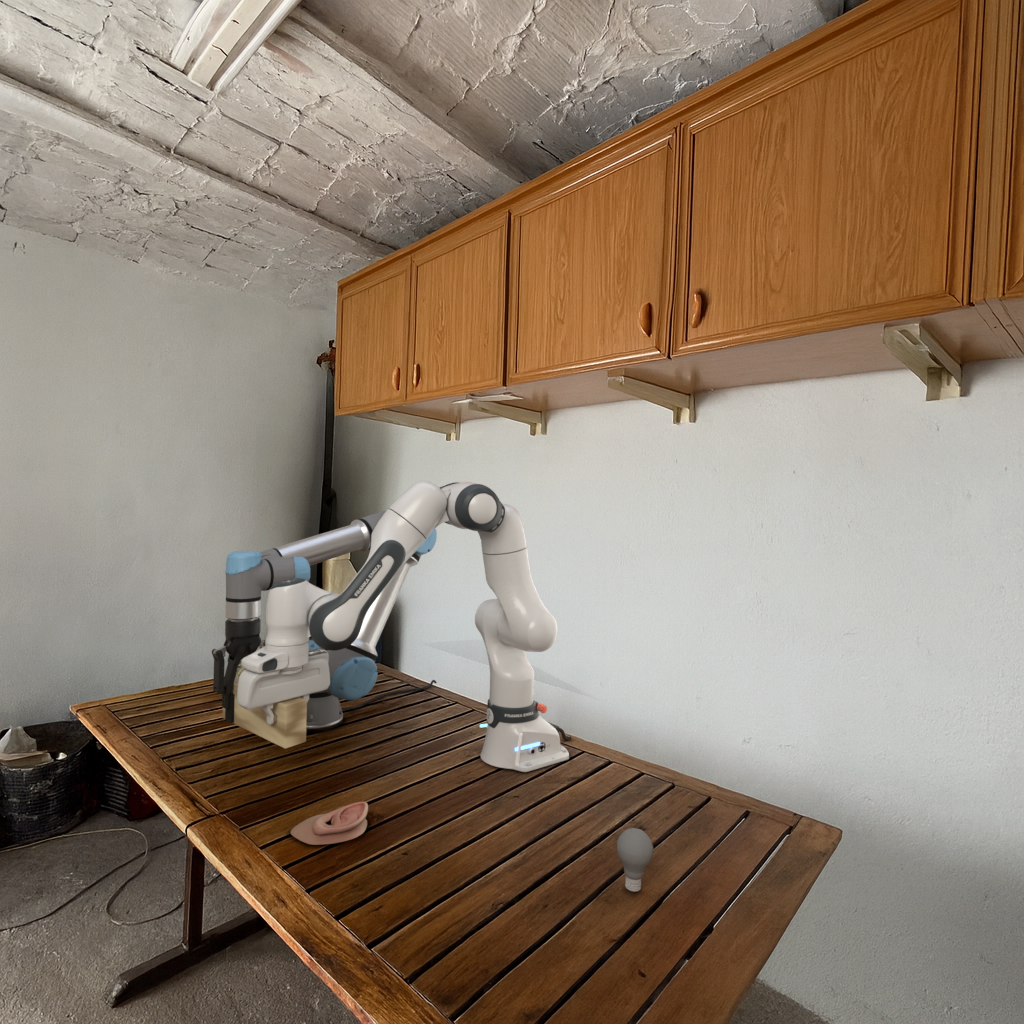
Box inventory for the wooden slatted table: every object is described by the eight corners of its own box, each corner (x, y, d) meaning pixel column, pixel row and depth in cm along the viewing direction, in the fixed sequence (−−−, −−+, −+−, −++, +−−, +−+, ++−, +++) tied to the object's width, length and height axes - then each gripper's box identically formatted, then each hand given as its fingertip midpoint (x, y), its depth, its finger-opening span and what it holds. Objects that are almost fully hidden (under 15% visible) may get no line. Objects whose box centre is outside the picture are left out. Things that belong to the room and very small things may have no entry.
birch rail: (242, 712, 151) (243, 675, 151) (306, 741, 135) (307, 700, 135) (222, 718, 147) (222, 679, 147) (285, 748, 131) (285, 705, 131)
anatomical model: (282, 818, 116) (314, 791, 127) (281, 840, 116) (313, 810, 127) (349, 829, 113) (375, 800, 125) (348, 851, 113) (374, 820, 125)
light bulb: (610, 878, 109) (613, 821, 108) (645, 878, 109) (647, 821, 109) (619, 901, 103) (622, 840, 103) (655, 900, 103) (658, 839, 103)
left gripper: (270, 610, 155) (268, 704, 156) (195, 621, 141) (194, 724, 142) (287, 615, 151) (285, 711, 152) (212, 626, 137) (210, 733, 137)
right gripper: (320, 644, 145) (318, 704, 146) (233, 661, 129) (232, 728, 130) (336, 649, 141) (335, 710, 142) (250, 667, 125) (248, 736, 126)
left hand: (241, 717), depth 147 cm, fingers closed on birch rail, 5 cm apart
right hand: (285, 719), depth 135 cm, fingers closed on birch rail, 5 cm apart
